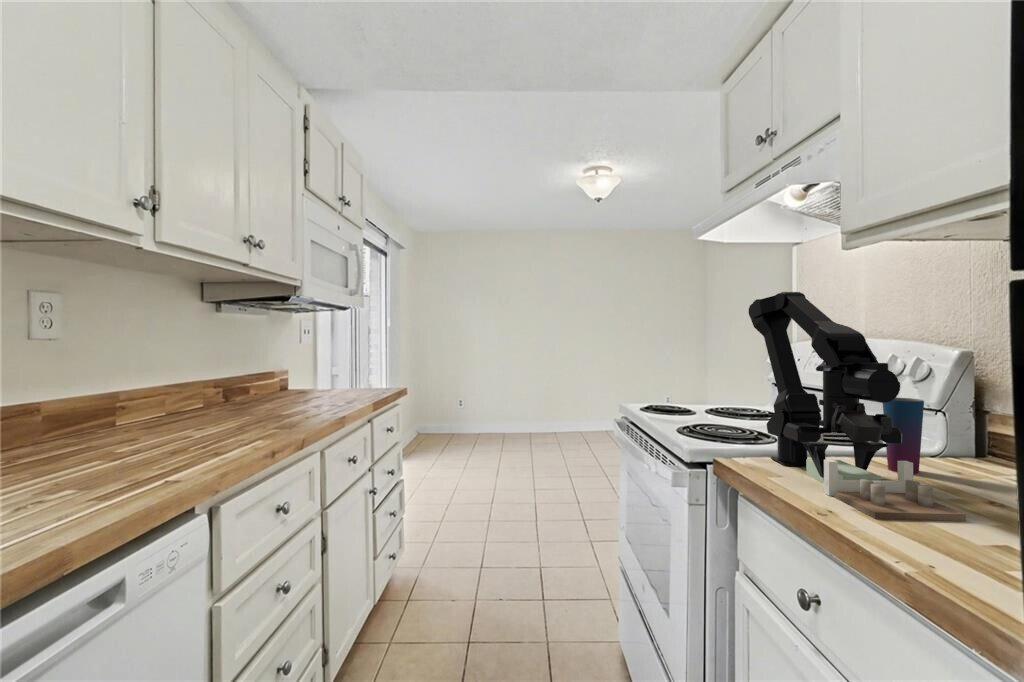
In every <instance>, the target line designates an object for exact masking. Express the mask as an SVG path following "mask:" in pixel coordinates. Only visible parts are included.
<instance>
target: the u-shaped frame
mask: <svg viewBox="0 0 1024 682" xmlns="http://www.w3.org/2000/svg"><path fill="white" fill-rule="evenodd" d="M835 460H836V459H825V460H824V483H823V494H825V495H827V496H829V497H835V492H860V480H838V462H837V461H835ZM905 480H913V481H914V474H913V463H912V462H908V461H898V472H897V480H882V479H881V480H871V481H873V484H879V485H883V486H885V493H905Z"/></svg>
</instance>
